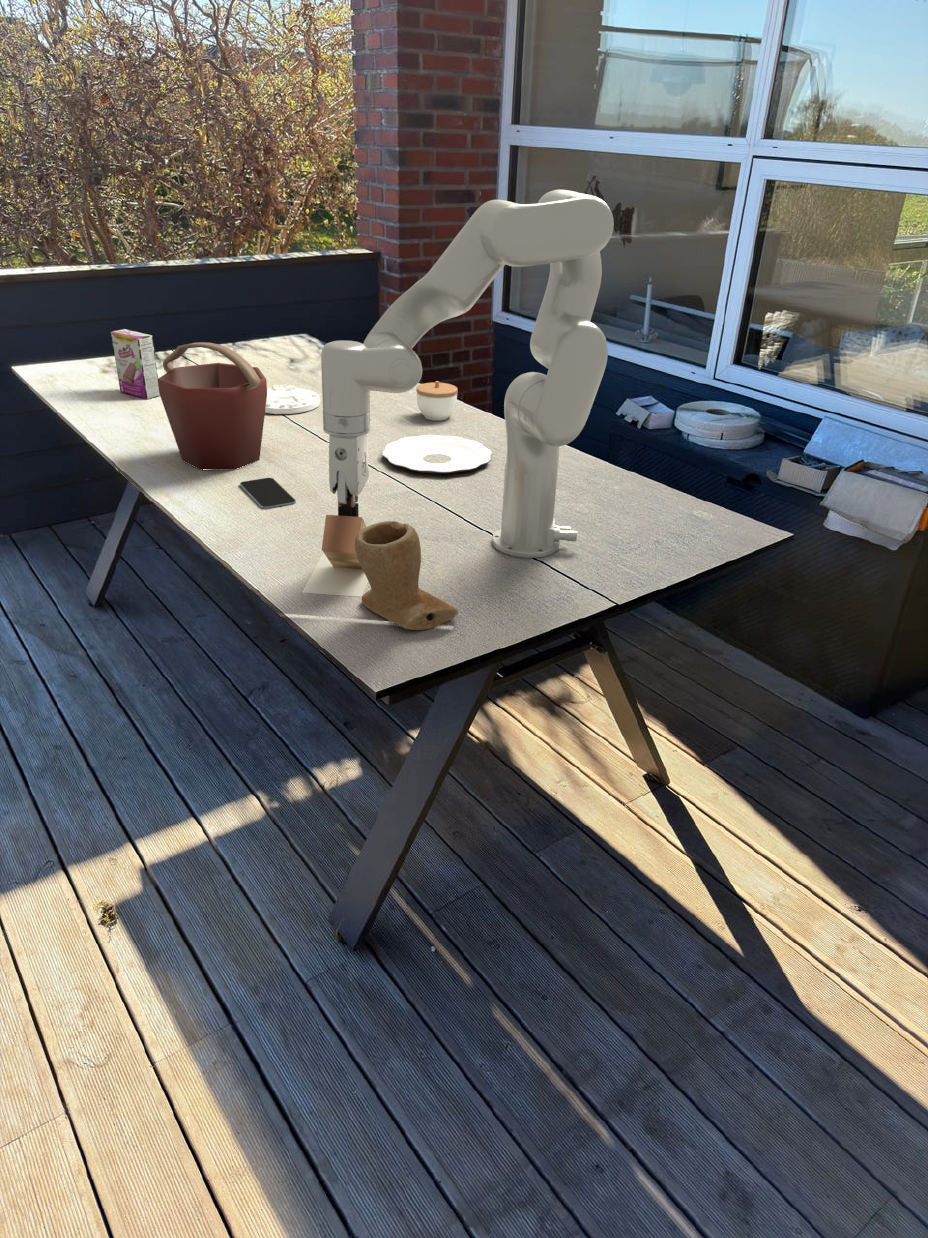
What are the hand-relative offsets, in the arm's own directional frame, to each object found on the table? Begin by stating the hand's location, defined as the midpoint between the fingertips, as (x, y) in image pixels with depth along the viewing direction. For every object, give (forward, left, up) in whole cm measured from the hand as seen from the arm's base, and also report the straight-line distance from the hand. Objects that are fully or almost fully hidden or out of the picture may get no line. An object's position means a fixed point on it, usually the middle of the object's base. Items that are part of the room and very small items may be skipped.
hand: (348, 525), depth 153 cm
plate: (-8, -58, -8) cm, 59 cm away
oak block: (0, 0, -5) cm, 5 cm away
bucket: (+40, -50, -8) cm, 64 cm away
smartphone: (+24, -30, -8) cm, 39 cm away
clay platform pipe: (-11, +16, -8) cm, 21 cm away
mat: (+1, +1, -8) cm, 8 cm away
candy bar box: (+78, -94, -8) cm, 122 cm away
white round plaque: (+38, -93, -8) cm, 101 cm away
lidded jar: (-4, -90, -8) cm, 91 cm away
